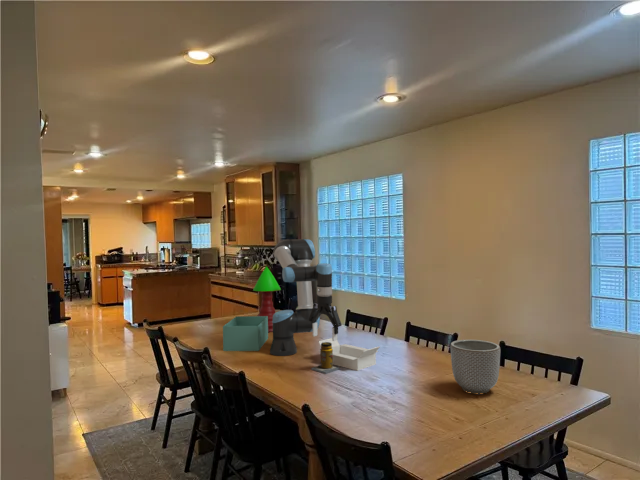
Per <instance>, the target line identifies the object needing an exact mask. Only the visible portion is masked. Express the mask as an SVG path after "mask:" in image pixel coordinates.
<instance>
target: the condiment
mask: <svg viewBox="0 0 640 480" xmlns="http://www.w3.org/2000/svg"><path fill="white" fill-rule="evenodd" d="M319 351H320V352H319V353H320V365H321V366H319V365H317V366H316V365H315V366H314V367H315V368H317V369H319V370H321V371H323V370H328V369H333V368H336V367H337V366H336V367H333V366H334V364H333V349H332V344H331V343H330V342H323V343H321V346H320V350H319Z"/></svg>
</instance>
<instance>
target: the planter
mask: <svg viewBox="0 0 640 480" xmlns="http://www.w3.org/2000/svg"><path fill="white" fill-rule="evenodd" d="M449 349H450V358H451V359H450V361H451V362H450V363H451V369H452V370H451V371H452V375H453V377H454V380H455V382H456V383H457V384H458V386H459V387H461V389H462V390H463V392H465V391H467V392H471V393H478V394H477V395H481V394H480V393H486V394H488V393H489V392H490V390H491V389H493V387H495V386H496V384H497V383H498V379H499V376H500V375H499V374H500V366H501V347H500V345H499V344H497V343H495V342H492V341H487V340H481V339H457V340H454V341H452V342H450V348H449ZM467 392H466V393H467ZM487 392H488V393H487ZM471 393H470V394H471Z"/></svg>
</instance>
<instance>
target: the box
mask: <svg viewBox="0 0 640 480" xmlns="http://www.w3.org/2000/svg"><path fill="white" fill-rule="evenodd" d="M268 339H269V332H268V316H257V315H256V316H255V315H254V316H253V315H249V316H246V315H245V316H242V315H241V316H235V317H233V318H232V319H231V320H229V321H227V323H225V324H224V325H223V326H222V346H223V347H222V351H223V352H259V351H260V350H261V349H262V347H263V346H264V344H265V343H266V342H267V341H268Z"/></svg>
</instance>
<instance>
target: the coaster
mask: <svg viewBox="0 0 640 480" xmlns="http://www.w3.org/2000/svg"><path fill="white" fill-rule="evenodd" d="M318 366H321V364H319V365H318ZM333 367H336V368H333V369H328V370H323V371H321V370H319V369H317V368H315V366H313V367H310V369H311V371H314V372H318V373H322V374H324V375H326V374H330V373H334V372H335V371H339V370H341V366H337V365H333Z"/></svg>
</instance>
